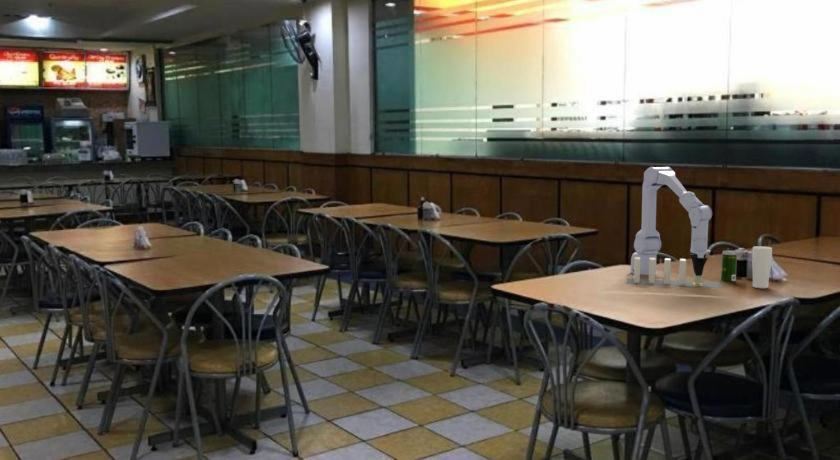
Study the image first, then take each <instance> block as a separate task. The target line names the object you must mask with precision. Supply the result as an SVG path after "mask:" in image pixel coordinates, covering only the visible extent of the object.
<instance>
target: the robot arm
mask: <svg viewBox="0 0 840 460" xmlns="http://www.w3.org/2000/svg"><path fill="white" fill-rule="evenodd" d="M664 185H665V186H667V187H668V188H669V189H670V190H672V192H674V194H675V195H677V196H678V197H679V198H678V202H679V204H680V205H682V207H683V208H684V209H685V210H686V211H687V213H688V217H689V219H690V220H689V221H690V225H691V237H690V238H691V240H690V241H691V242H690V250H689V252H690V253H689V256H690V258H691V262H692V269H693V272H694V273H693V274H694V275H696V276H701V277H702V276H703V273H704V268H705V265H706V262H707V261H708V257H707V253H711V250H710V249H708V238H709V237H708V235H709V234H708V233H709V221H711V219H712V216H713V211H712V208H710V206H709V205H708V204H707V205H706V204H703V202H702V201H700V199H699V198H698V197H696V194H695V192H692V191H687V189H686V188H685V187H684V186H683V184H682V182H681V181H680V180H679V179H678V178H677V177H676V172H675V171H674V170H673V169H672V168H671V167H670V166H661V167H660V166H656V167H654V166H650V167H648V168H647V169H646V170H645V171H644V172H643V183H642V186H641V187H642V188H641V189H642V190H641V191H642V194H641V195H642V196H641V197H642V198H641V226H640V227H641V229H640V230H639V231H637V233H636V234H635V239H634V242H633V248H634V250H635V252H634V253H632V255H631V259H630V273H631V274H634V260H635V257H640V276H649V258H655V260H656V261H655V275H658V274H659V273H657V254H659V251H660V250H661V249H662V241H661V237H660V236H661V233H659V231H658V230H656V229H657V228H656V227H657V197H658V196H657V194H658V193H657V191H658V190H659V189H660V188H661V187H662V186H664Z"/></svg>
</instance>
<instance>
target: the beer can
mask: <svg viewBox="0 0 840 460" xmlns="http://www.w3.org/2000/svg"><path fill="white" fill-rule="evenodd" d="M737 261H738V254H737V251H736V250H730V249H729V250H728V249H727V250H722V253H721V268H720V270H721V271H720V272H721V273H720V281H723V282H730V283H731V282H736V281H737V280H736V279H737Z"/></svg>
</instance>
